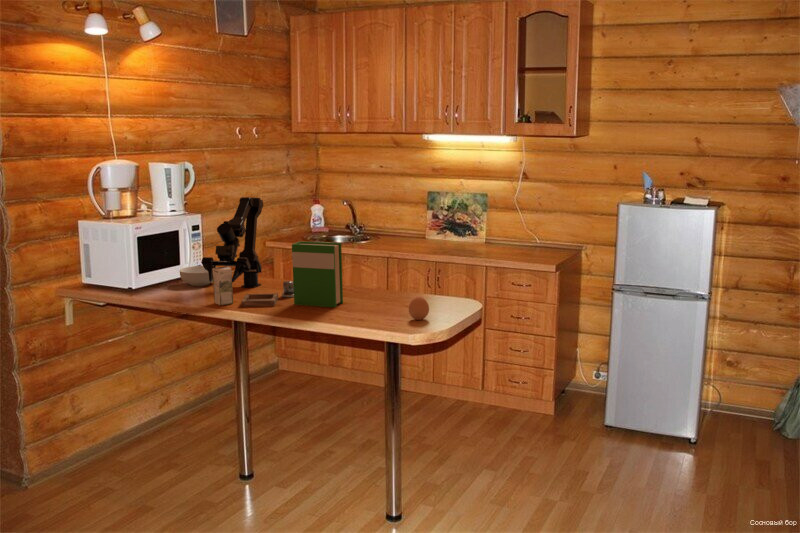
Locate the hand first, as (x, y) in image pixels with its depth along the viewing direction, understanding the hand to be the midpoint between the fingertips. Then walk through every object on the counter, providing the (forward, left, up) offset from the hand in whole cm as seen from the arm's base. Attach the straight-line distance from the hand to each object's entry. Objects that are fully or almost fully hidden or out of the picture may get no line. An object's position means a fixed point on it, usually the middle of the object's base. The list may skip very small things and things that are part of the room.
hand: (221, 281), depth 305 cm
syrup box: (-1, 0, -9) cm, 10 cm away
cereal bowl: (-29, -32, -9) cm, 45 cm away
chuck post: (-21, +18, -9) cm, 29 cm away
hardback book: (-13, +36, -9) cm, 39 cm away
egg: (-3, +82, -9) cm, 82 cm away
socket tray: (-7, +13, -9) cm, 17 cm away
